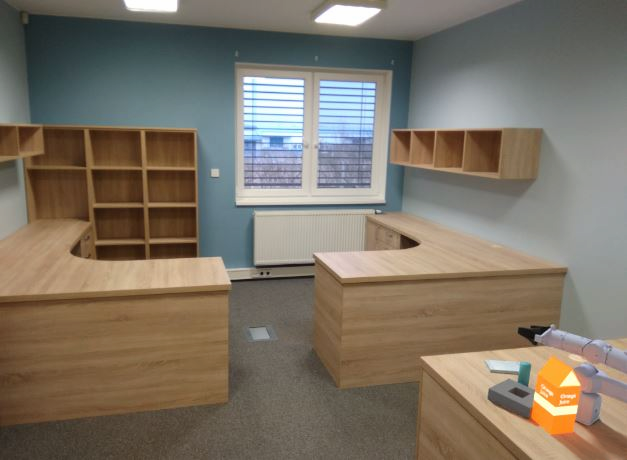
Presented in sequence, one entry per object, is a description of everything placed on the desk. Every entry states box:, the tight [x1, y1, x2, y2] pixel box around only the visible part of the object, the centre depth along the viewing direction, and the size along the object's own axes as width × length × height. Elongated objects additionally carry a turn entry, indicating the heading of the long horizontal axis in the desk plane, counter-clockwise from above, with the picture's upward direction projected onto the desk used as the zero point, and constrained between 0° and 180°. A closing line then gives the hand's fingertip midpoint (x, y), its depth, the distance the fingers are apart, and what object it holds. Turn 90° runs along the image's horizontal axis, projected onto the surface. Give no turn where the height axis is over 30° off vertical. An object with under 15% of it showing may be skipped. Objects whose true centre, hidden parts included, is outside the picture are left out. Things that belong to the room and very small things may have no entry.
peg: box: [516, 361, 532, 387], centre depth 171 cm, size 4×4×8 cm
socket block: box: [487, 378, 535, 420], centre depth 160 cm, size 14×12×4 cm
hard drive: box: [483, 359, 520, 375], centre depth 185 cm, size 2×8×12 cm
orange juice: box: [530, 355, 581, 436], centre depth 147 cm, size 8×9×20 cm
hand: (524, 329), depth 167 cm, fingers open, 7 cm apart
